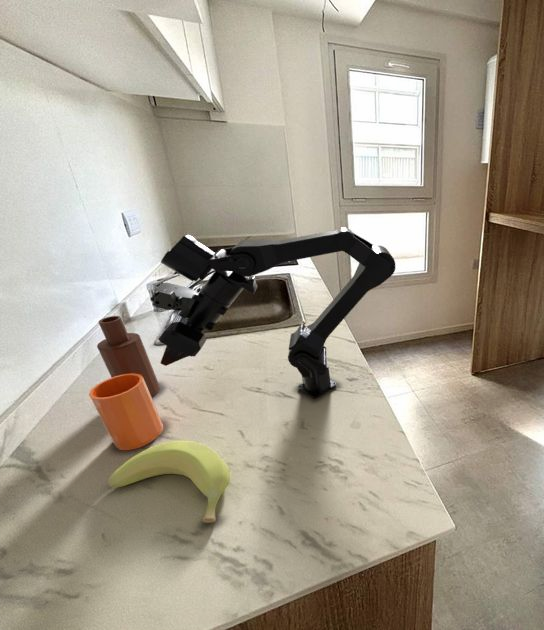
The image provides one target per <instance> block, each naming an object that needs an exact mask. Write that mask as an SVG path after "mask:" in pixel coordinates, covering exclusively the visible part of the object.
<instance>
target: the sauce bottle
mask: <svg viewBox="0 0 544 630" xmlns="http://www.w3.org/2000/svg"><path fill="white" fill-rule="evenodd" d="M98 324H99V327H100V329H101V331H102V334H103V336H104V338H105V339H103V340H101V341H99V342H98V344H97V345H96V348H97V350H98V352H99V354H100V356H101V358H102V360H103V363H104V365H105V367H106V370H107V371H108V373H109V376H110V378H112V377H115V376H119V375H123V374H132V373H135V374H140V375H141V376H142V377H143V378H144V381H145V383H146V385H147V388H148V390H149V393H150V395H151V397H152V398H154V397H155V396H156V395H157V394H158V393H159V392H160V390H161V386H160V383H159V381H158V378H157V375H156V373H155V371H154V368H153V366H152V362H151V361H150V358H149V355H148V353H147V351H146V348H145V345H144V343H143V341H142V337H141V335H140V334H138V333H136V332H128V331H127V329H126V325H125V323H124V321H123V319H122V317H121V316H120V315H112V316H107V317H103V318H101V319H100V320H98Z"/></svg>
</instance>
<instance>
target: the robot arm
mask: <svg viewBox="0 0 544 630" xmlns="http://www.w3.org/2000/svg"><path fill="white" fill-rule="evenodd" d="M340 252H344V253H345V254H347V255H349V257H351V258H352V259H354V261H356V262H357V263H358V265H357V268H356V269H355V271H354V274H353V275H352V278H350V279H349V281H348V282H347V283H346V285H344V287H342V289H341V290H340V291H339V292H338V294H337V295H336V296H335V297H334V298H333V300H332V301H331V302H330V303H329V304H328V305H327V307H325V309H324V310H323V311H322V312H321V313H320V315H319V316H318V317H317V318H316V319H315V320H314V321H313V322H312V323H310V324H309V325H305V324H304V323H303V322H301V323H300V324H299V325H298V328H297V329H296V330H295V331H294V332H292V333H291V334H290V338H289V344H288V353H287V359H288V363H289V364H290V365H291V366H292V367H294V368H296V369H297V371H298V372H299V373H300V375H301V379H302V383H300V384H299V385H297V389H298V390H299V391H301V392H302V393H304V394H305V395H308V396H309V397H310V398H312V399H314V400H315V399H318V398H320V397H321V396H322V395H324V394H325V393H328V391H330V390H332V389H333V388H335V387H336V386H337V382H335V381H333V380H332V379H331V376H330V375H331V374H330V367H329V365H328V362H327V361H328V358H327V347H326V346H325V344H326V341H327V339H328V338H329V336H330V335H332V333H333V332H334V331H335V330H336V328H337V327H338V326H339V325H340V324H341V323H342V322H343V320H344V319H345V318H347V316H348V315H349V313H351V311H352V310H353V309H354V308H355V307H356V306H357V305H358V303H359V302H360V301H362V299H363V298H364V297H365V296H366V294H367V293H369V292H370V291H371V290H373V289H375V288H377V287H379V286H381V285H382V284H383V283H384V282H386V281H387V280H389V279H390V278H391V277H392V276H393V275H394V273H395V271H396V261H395V258H394V257H393V256H392V254H391V253H390V251H389V250H388V249H387V248H386V247H384V245H375V244H372V243H371V242H370V241H368V240H366V239H365V238H363V237H361V236H359V235H358V234H356V233H355V232H353V231H352V230H351V229H350V228H348V227H340V228H338V229H334V230H329V231H324V232H318V233H313V234H307V235H302V236H297V237H291V238H284V239H267V238H252V239H251V238H247V239H243V240H240V241H238V243H236V244H235V246H231V247H226V248H222V249H221V248H220V249H218V250H217V251H216V252H214V251H213V250H212V249H210V248H209V247H207V246H206V245H204V244H203V243H201V242H200V241H198V240H197V239H196V238H195V237H193V236H192V235H190V234H189V233H187V234H184V235H183V236H182V237H181V238H180V239H179V241H177V242H176V243H175V245H173V247H172V248H171V249H169V250H167V252H166V253H165V254H164V255H163V257H162V258H161V260H160V264H162V265H164V266H165V267H167V268H169V269H170V270H172V271H174V272H176V273H178V274H179V275H181V276H183V277H184V278H186V279H188V280H189V281H190V282H198V280H200V281H203V280H204V279H205V278H206V277H207V276H208V274H210V272H211V271H212V270H213V271H214V272H213V273H212V274H211V276H209V279H208V280H207V281H206V282H205V284H204V285H203V286H200V287H199V289H198V290H195V289H192V288H190V287H186V286H184V285H183V286H182V285H179V284H175V283H171V282H161V283H160V284H159V285H158V286H157V287H155V288H154V292H153V295H152V296H150V298H149V301H151V302H152V306H153V307H155V308H158V309H162V310H167V311H171V310H172V311H176V312H179V313H178V314H177V316H179V317H181V318H183V319H186V320H187V321H186V322H185V323H183V322H182V321H173V322H171V323H170V324H169V325H168V326H167V327H166V328H165V330H164V331H163V332H162V333H161V335H159V337H158V341H159V342H160V343H161V344H163V345H164V346H165V345H166V347H165V349H164V352H163V354H162V357H161V359H160V362H159V363H160V364H161V365H162V366H165V367H166V366H169V365H172V364H174V363H176V362H179V361H181V360H183V359H186V358H188V357H196V356H197V355H198V353H199V352H200V351H201V350H202V348H203V347H204V345H205V343H206V342H207V338H206V335H205V333H203V331H205V330H208V331H210V332H211V331H212V330H213V329H214V328H215V326H216V325H217V323H218V321H219V320H220V319H221V317H222V316H224V315H225V314H226V313H227V311H228V309H229V308H230V307H231V305H233V303H234V302H235V300H236V299H237V298H238V296H239V295H240V294H241V293H242V292H243V290H245V291H247V292H249V293H250V294H255V292H256V290H257V289H258V284H257V281H256V279H257V277H256V275H259V274H261V273H264V272H266V271H267V272H268V271H269V270H270V269H272V268H275V267H276V266H279V265H282V264H284V263H288V262H292V261H293V262H294V261H298V260H303V259H309V258H313V257H318V256H324V255H329V254H335V253H340Z"/></svg>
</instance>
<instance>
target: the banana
mask: <svg viewBox="0 0 544 630" xmlns="http://www.w3.org/2000/svg"><path fill="white" fill-rule="evenodd" d="M169 474H172V475H173V474H174V475H179V476H180V475H181V476H185V477H187V478H189V479H190V480H191V481H192V483H193V484H194V485H195V486H196V487H197V488H198V490H199V491H200V492H201V493H202V494H203V496H204V497H206V498H207V507H206V511H205V513H204V516H203V517H202V522H203V523H204V524H205V523H206V524H212V523H215V522H216V521H217V518H216V507H217V504H218V501H219V499H220V497H221V496H222V494H223V493H224V492H225V490H226V489H227V488H228V486H229V484H230V481H231V471H230V469H229V466H228V465H227V463H226V461H225V460H224V459H223V458H222V457H221V456H220V455H219V454H218V453H217V452H216V451H215V450H213V448H211V447H209V446H207V445H206V444H204V443H199V442H198V441H197V442H196V441H193V440H192V441H191V440H171V441H167V442H163V443H159V444H156V445H153V446H151V447H149V448H146V449H144V450H143V451H141V452H138V453H137V454H136V455H134V456H132V457H131V458H129V459H128V460H126V461H125V462H124V463H123V464H122V465H120V466H119V467H118V468H117V469H116V470H115V471H114V472H113V473H112V474H111V475H110V477H109V478H108V479H107V481H106V482H107V483H106V484H107V486H108V487H109V488H110V489H114V488H121V487H125V486H127V485H131V484H133V483H136V482H139V481H142V480H145V479H148V478H152V477H156V476H160V475H169Z"/></svg>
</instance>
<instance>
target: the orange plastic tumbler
mask: <svg viewBox="0 0 544 630" xmlns="http://www.w3.org/2000/svg"><path fill="white" fill-rule="evenodd" d="M88 397H89V399H90V400H91V402H92V403H91V404H93V407H94V409H95V410H96V412H97V414H98V416H99V418H100V420H101V421H102V424H103V426H104V428H105V429H106V432H107V433H108V435H109V437H110V439H111V441H112V443H113V444H114V446H115V447H116V448H115V449H117V450H120V451H132V450H135V449H139V448H142V447H144V446H146V445H148V444H150V443H152V442H153V441H154V440H156V439H157V438H158V437H159V436H160V435H161V434H162V433H163V430H164V425H163V421H162V419H161V416H160V415H159V412H158V409H157V408H156V405H155V403H154V399H153V397H151V395H150V393H149V390H148V388H147V385H146V383H145V381H144V378H143V377H142V376H141V375H140V374H135V373H132V374H123V375H119V376H115V377H112V378H111V377H109V378H107V379H105V380H103V381H100V382H98V384H95V386H93V387H92V388H91V389H90V390H89V393H88Z"/></svg>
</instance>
